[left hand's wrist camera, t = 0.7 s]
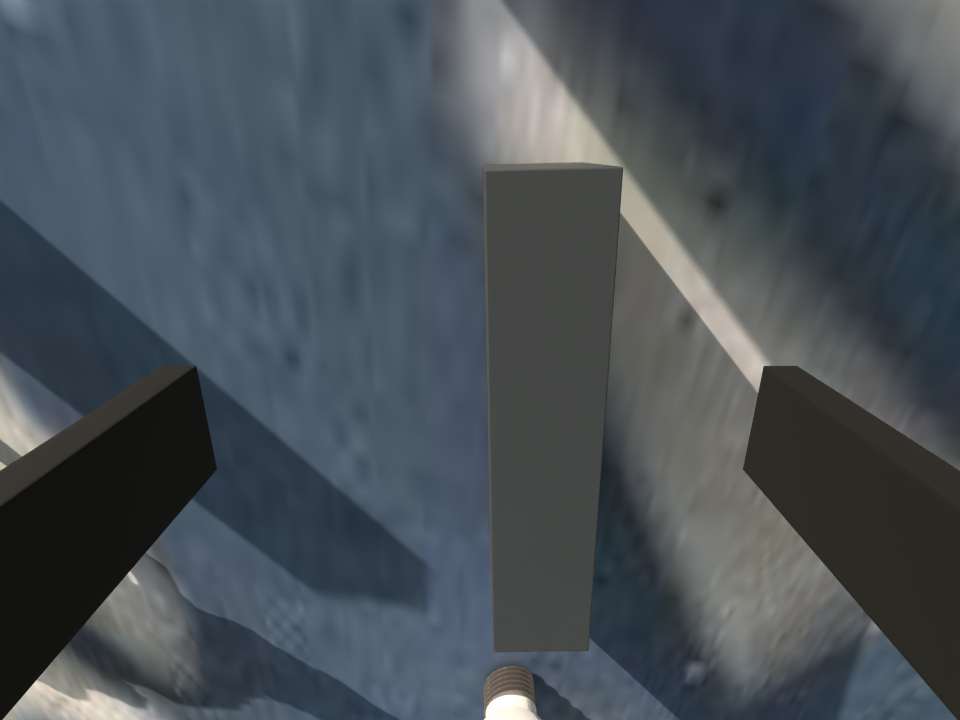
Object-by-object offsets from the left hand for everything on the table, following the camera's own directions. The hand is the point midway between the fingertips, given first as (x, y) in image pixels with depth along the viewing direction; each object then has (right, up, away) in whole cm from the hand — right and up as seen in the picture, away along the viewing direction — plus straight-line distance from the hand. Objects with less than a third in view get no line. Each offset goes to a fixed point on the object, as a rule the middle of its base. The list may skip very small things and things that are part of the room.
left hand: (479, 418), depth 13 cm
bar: (+3, 0, +20) cm, 20 cm away
